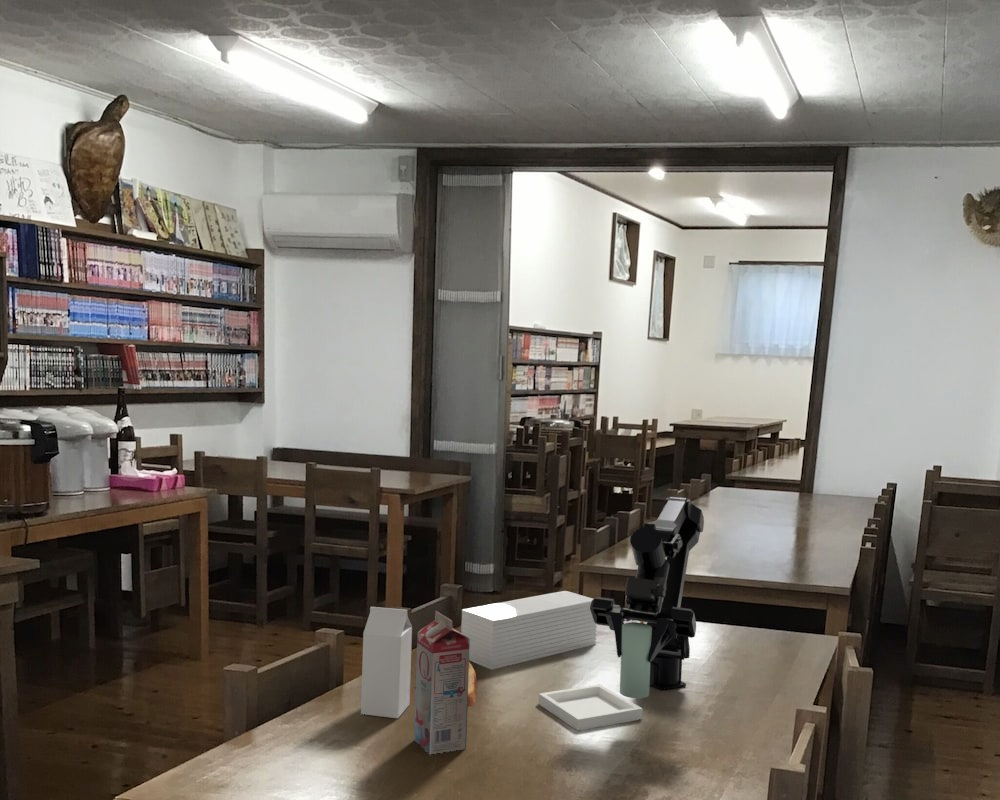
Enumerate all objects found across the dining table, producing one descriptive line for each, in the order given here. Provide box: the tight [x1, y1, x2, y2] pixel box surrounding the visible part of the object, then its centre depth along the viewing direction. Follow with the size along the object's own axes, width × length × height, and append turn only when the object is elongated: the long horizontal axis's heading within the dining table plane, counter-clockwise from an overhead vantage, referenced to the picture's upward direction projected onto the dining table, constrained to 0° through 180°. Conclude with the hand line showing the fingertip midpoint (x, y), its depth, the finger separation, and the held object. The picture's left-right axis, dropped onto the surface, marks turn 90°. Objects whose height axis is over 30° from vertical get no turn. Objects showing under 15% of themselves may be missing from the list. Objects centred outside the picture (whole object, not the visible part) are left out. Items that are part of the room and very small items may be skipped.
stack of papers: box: [460, 590, 598, 670], centre depth 210 cm, size 32×11×11 cm, turn 130°
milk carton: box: [360, 606, 413, 719], centre depth 170 cm, size 7×7×19 cm
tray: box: [537, 683, 643, 731], centre depth 173 cm, size 14×14×2 cm
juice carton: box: [413, 610, 470, 755], centre depth 155 cm, size 7×7×22 cm
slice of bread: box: [467, 661, 478, 708], centre depth 184 cm, size 18×18×4 cm
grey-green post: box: [619, 621, 652, 699], centre depth 164 cm, size 5×5×12 cm
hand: (633, 658), depth 163 cm, fingers closed on grey-green post, 5 cm apart
